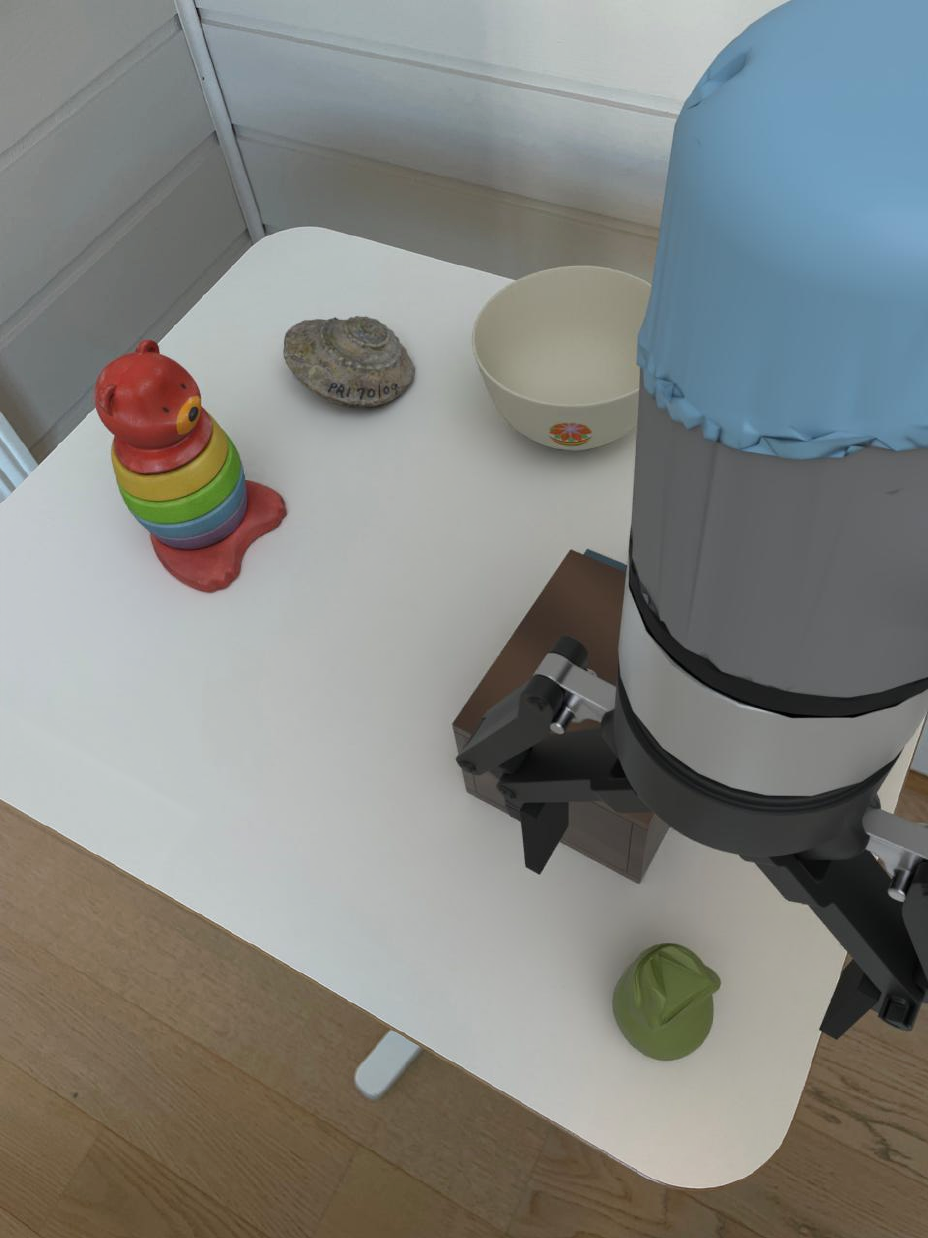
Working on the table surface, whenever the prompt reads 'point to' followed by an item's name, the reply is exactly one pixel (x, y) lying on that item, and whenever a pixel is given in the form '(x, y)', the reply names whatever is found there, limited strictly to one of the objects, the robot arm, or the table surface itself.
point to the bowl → (564, 354)
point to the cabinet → (590, 614)
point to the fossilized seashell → (348, 360)
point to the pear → (666, 1002)
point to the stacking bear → (181, 470)
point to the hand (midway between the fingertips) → (685, 921)
